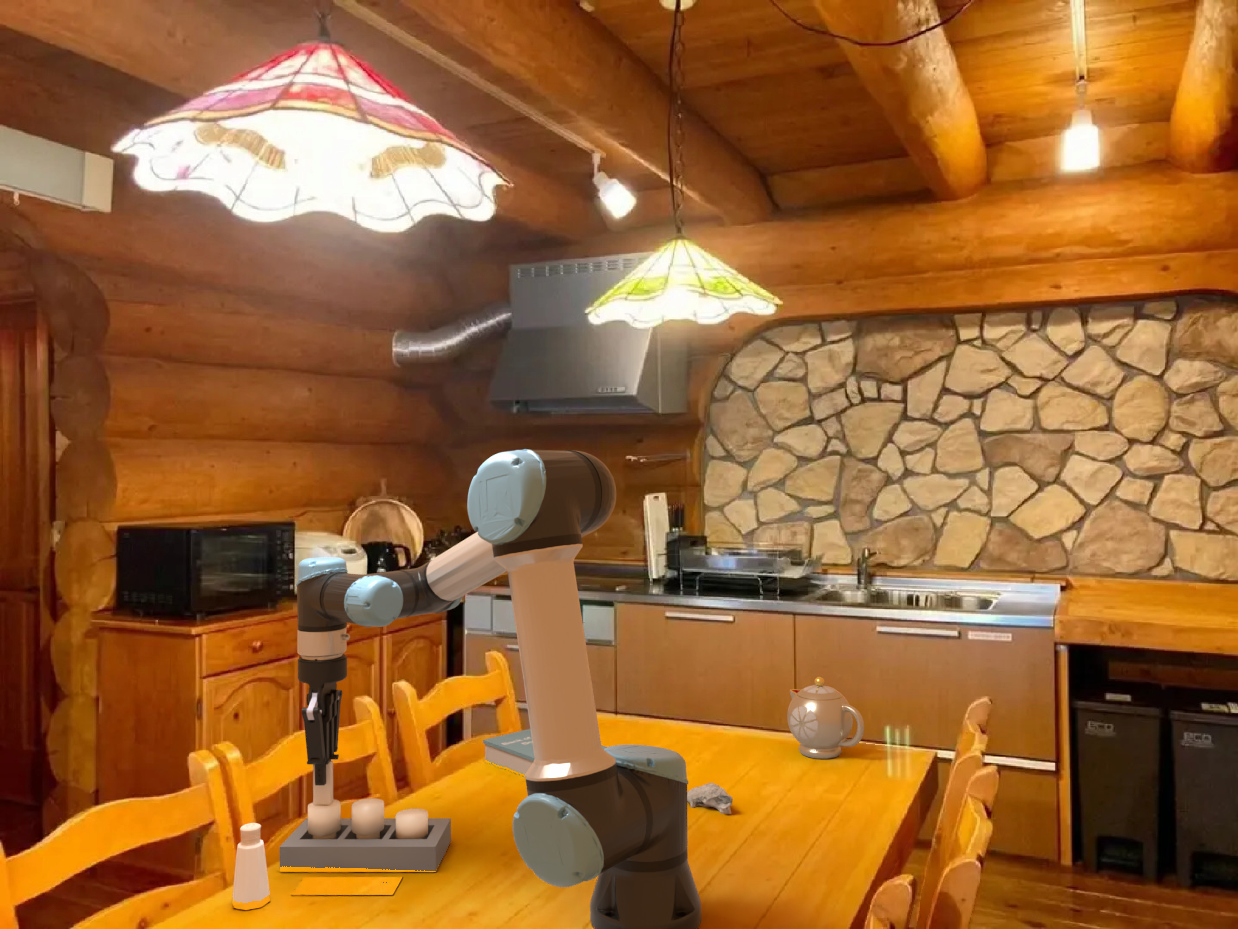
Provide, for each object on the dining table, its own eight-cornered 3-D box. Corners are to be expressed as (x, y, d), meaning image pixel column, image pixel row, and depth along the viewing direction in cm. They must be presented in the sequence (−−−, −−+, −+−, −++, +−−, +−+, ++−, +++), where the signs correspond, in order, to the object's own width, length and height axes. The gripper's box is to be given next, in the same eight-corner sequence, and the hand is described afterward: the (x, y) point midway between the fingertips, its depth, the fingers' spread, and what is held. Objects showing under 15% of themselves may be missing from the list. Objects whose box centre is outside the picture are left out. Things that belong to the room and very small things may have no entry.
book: (483, 763, 207) (482, 740, 207) (543, 748, 218) (543, 725, 218) (550, 789, 190) (550, 763, 190) (612, 771, 201) (612, 746, 201)
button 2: (424, 858, 154) (423, 819, 154) (392, 858, 154) (392, 820, 154) (431, 845, 159) (430, 808, 159) (400, 846, 159) (399, 808, 159)
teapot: (772, 754, 210) (771, 677, 210) (808, 740, 220) (807, 667, 220) (846, 771, 198) (845, 690, 198) (881, 757, 207) (880, 678, 207)
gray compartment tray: (435, 873, 151) (435, 846, 151) (279, 873, 151) (279, 847, 151) (450, 842, 163) (450, 818, 163) (306, 842, 163) (306, 818, 163)
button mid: (379, 847, 154) (379, 809, 154) (347, 847, 155) (347, 809, 155) (387, 835, 159) (387, 798, 159) (357, 835, 160) (356, 798, 160)
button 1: (335, 848, 155) (334, 810, 155) (303, 848, 155) (303, 810, 155) (344, 836, 160) (344, 799, 160) (314, 836, 160) (313, 799, 160)
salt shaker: (276, 894, 144) (275, 818, 144) (264, 911, 139) (263, 832, 139) (238, 895, 144) (237, 819, 144) (225, 912, 138) (224, 833, 138)
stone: (701, 822, 172) (701, 798, 172) (677, 797, 184) (677, 775, 184) (735, 818, 174) (736, 795, 174) (709, 794, 186) (709, 772, 186)
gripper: (333, 663, 151) (333, 818, 151) (357, 647, 164) (358, 789, 164) (284, 663, 151) (285, 817, 151) (312, 647, 164) (313, 789, 164)
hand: (323, 803), depth 157 cm, fingers closed
